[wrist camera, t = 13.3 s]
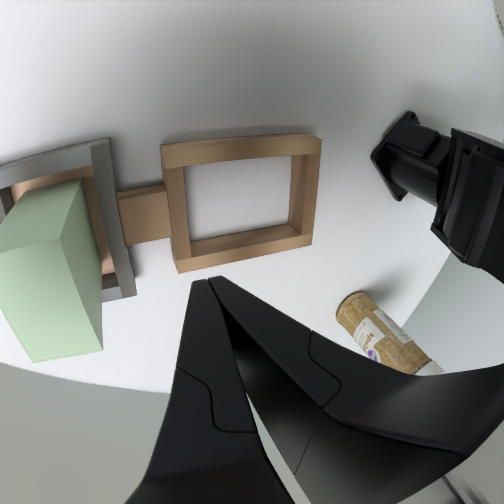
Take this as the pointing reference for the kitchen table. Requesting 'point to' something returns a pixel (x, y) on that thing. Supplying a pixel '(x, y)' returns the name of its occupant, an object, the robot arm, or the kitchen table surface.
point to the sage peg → (52, 273)
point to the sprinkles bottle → (383, 337)
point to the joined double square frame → (169, 201)
